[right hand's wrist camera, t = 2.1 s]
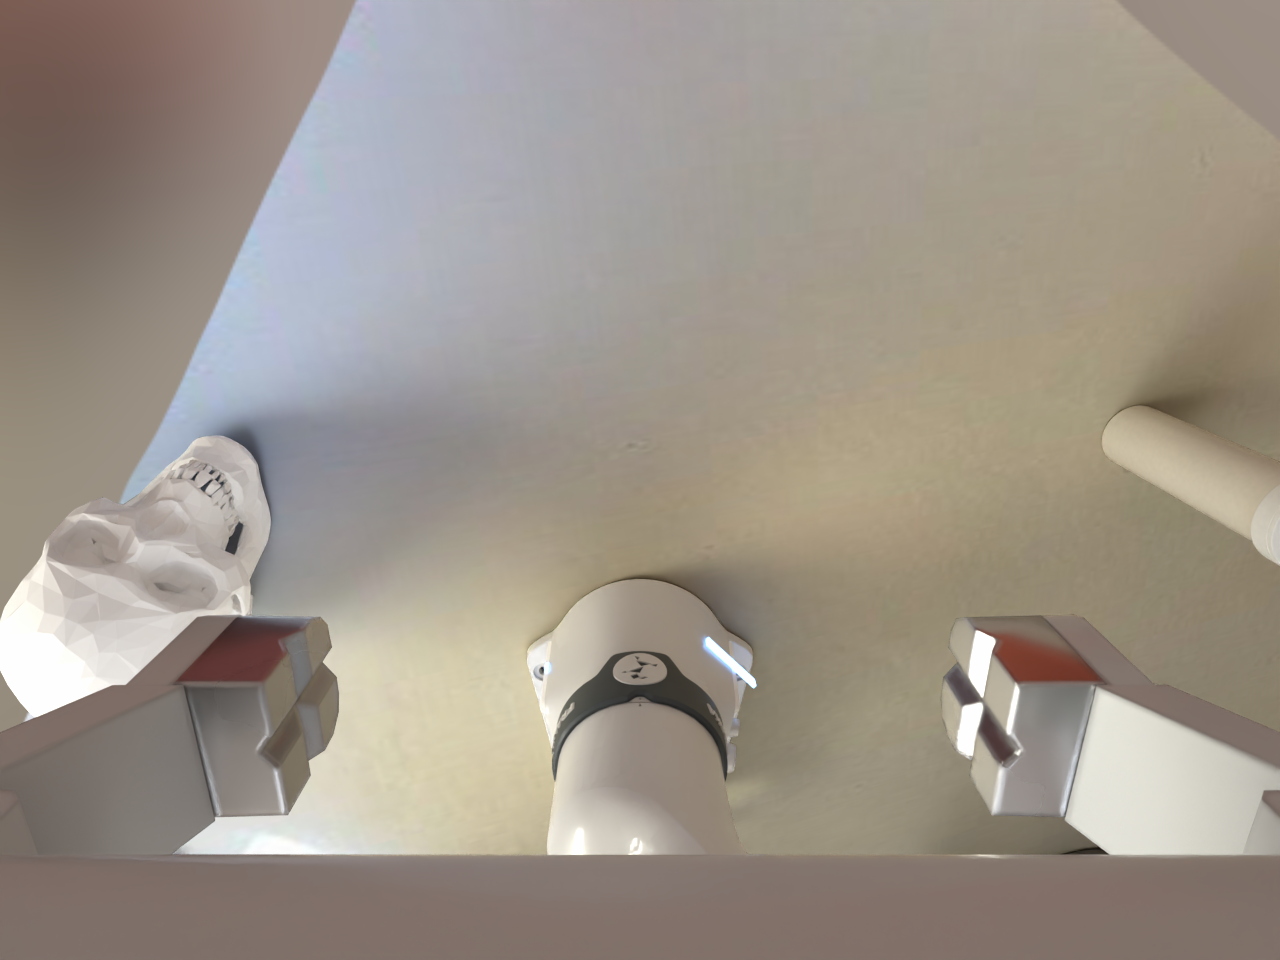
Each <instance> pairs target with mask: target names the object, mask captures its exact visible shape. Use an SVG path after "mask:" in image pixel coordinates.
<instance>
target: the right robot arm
mask: <svg viewBox="0 0 1280 960" xmlns="http://www.w3.org/2000/svg"><path fill="white" fill-rule="evenodd" d="M331 648H332V645H331V640H330V635H329V630H328V625H327V624H326V622H325V621H324V620H323V619H322V618H321V617H304V616H251V615H246V616H242V615H207V616H200V617H197V618H196V619H195V620H193V621H192V622H191V623H190V624H189V625H188V626H187V627H186V628H185V629H184V630H183V631H182V632H181V633H180V634H179V635H178V636H177V637H176V638H174V639H173V640H172V641H171V642H170V643H169V644H168V645H167V646H166V647H165V648H164V649H163V650H162V651H161V652H160V653H159V654H158V655H157V656H155V657H154V658H153V659H152V660H151V661H150V662H149V663H148V664H147V665H146V666H145V667H144V668H143V669H142V670H141V671H140V672H139V673H138V674H136V675H135V676H134V677H133V678H132V679H131V680H130V681H129V682H128V683H127V684H126V685H111V686H109V687H107V688H104V689H102V690H99V691H97V692H95V693H92V694H90V695H88V696H85V697H83V698H80V699H78V700H76V701H73V702H71V703H69V704H66V705H64V706H61V707H59V708H57V709H54V710H52V711H50V712H47V713H45V714H43V715H40V716H38V717H35V718H33V719H31V720H28V721H26V722H24V723H21V724H19V725H16V726H14V727H12V728H9V729H7V730H5V731H2V732H0V960H1280V732H1278V731H1275V730H1273V729H1270V728H1268V727H1266V726H1263V725H1261V724H1259V723H1256V722H1254V721H1251V720H1249V719H1247V718H1244V717H1242V716H1240V715H1237V714H1235V713H1233V712H1230V711H1228V710H1225V709H1223V708H1221V707H1218V706H1216V705H1214V704H1211V703H1209V702H1207V701H1204V700H1202V699H1199V698H1197V697H1195V696H1192V695H1190V694H1188V693H1185V692H1183V691H1181V690H1178V689H1176V688H1173V687H1171V686H1169V685H1154V684H1153V683H1152V682H1151V681H1150V680H1149V679H1148V678H1147V677H1146V676H1145V675H1144V674H1143V673H1141V672H1140V671H1139V670H1138V669H1137V668H1136V667H1135V666H1134V665H1133V664H1132V663H1131V662H1130V661H1129V660H1128V659H1127V658H1126V657H1125V656H1124V655H1123V654H1121V653H1120V652H1119V651H1118V650H1117V649H1116V648H1115V647H1114V646H1113V645H1112V644H1111V643H1110V642H1109V641H1108V640H1107V639H1106V638H1105V637H1104V636H1103V635H1102V634H1100V633H1099V632H1098V631H1097V630H1096V629H1095V628H1094V627H1093V626H1092V625H1091V624H1090V623H1089V622H1088V621H1087V620H1086V619H1085V618H1083V617H1080V616H1077V615H1074V614H1072V615H1048V616H1000V617H964V618H957V619H956V620H955V622H954V625H953V627H952V629H951V633H950V639H949V645H948V648H949V649H950V651H951V652H952V654H953V655H954V657H955V658H956V660H957V661H958V662H957V663H956V664H955V665H954V666H953V667H952V669H951V670H950V671H949V672H948V673H947V674H946V675H945V676H944V677H943V685H942V693H941V707H942V718H943V723H944V726H945V729H946V733H947V736H948V738H949V740H950V742H951V743H952V745H953V747H954V749H955V750H956V751H957V752H959V753H960V754H962V755H963V756H965V757H967V758H968V759H970V760H971V761H972V762H971V768H970V774H969V776H970V777H971V779H972V781H973V783H974V784H975V786H976V788H977V790H978V791H979V793H980V795H981V797H982V798H983V800H984V802H985V804H986V805H987V807H988V809H989V810H990V812H991V814H992V815H1005V816H1042V817H1065V821H1066V822H1068V823H1069V824H1070V825H1071V826H1073V827H1074V828H1075V829H1077V830H1078V831H1079V832H1081V833H1082V834H1083V835H1085V836H1086V837H1087V838H1088V839H1090V840H1091V841H1092V842H1094V843H1095V844H1096V845H1098V846H1099V847H1100V848H1102V849H1103V850H1104V851H1106V852H1107V853H1108V854H1109V855H748V854H747V852H746V851H745V849H744V847H743V845H742V844H741V842H740V840H739V837H738V835H737V832H736V828H735V825H734V821H733V817H732V814H731V810H730V806H729V801H728V796H727V791H726V786H725V780H726V776H727V773H731V772H733V771H734V768H735V763H736V746H735V744H733V743H730V740H731V737H737V736H738V734H739V728H740V722H739V719H737V716H738V713H739V709H740V706H741V702H742V699H743V695H744V692H745V688H746V685H747V683H748V684H749V685H750V686H752V687H753V688H754V687H756V682H755V679H754V678H753V677H752V676H751V675H750V671H751V668H752V664H753V651H752V648H751V647H750V646H749V645H748V644H747V643H746V642H745V641H743V640H742V639H740V638H739V637H737V636H735V635H734V634H732V633H730V632H728V631H727V630H726V629H725V628H724V627H723V626H722V625H721V624H720V623H719V621H718V620H717V618H716V617H715V615H714V614H713V613H712V611H711V610H710V609H709V608H708V607H707V606H706V605H705V604H704V603H703V602H702V601H701V600H700V599H698V598H697V597H696V596H694V595H693V594H691V593H690V592H688V591H686V590H684V589H682V588H680V587H678V586H675V585H673V584H670V583H666V582H662V581H657V580H650V579H630V580H623V581H618V582H614V583H610V584H607V585H605V586H602V587H600V588H598V589H596V590H594V591H592V592H590V593H589V594H587V595H586V596H584V597H583V598H582V599H580V600H579V601H578V602H577V603H576V604H575V605H574V606H573V607H572V608H571V609H570V610H569V612H568V613H567V614H566V616H565V617H564V618H563V620H562V621H561V623H560V624H559V625H558V626H557V627H556V628H555V629H554V630H553V631H552V632H550V633H548V634H547V635H545V636H543V637H541V638H540V639H538V640H537V641H535V642H534V643H533V644H532V645H531V646H530V647H529V649H528V651H527V664H528V667H529V671H530V674H531V678H532V681H533V685H534V688H535V692H536V695H537V699H538V702H539V706H540V709H541V712H542V716H543V719H544V723H545V726H546V730H547V733H548V737H549V740H550V744H551V747H552V754H553V759H552V769H553V776H554V780H555V788H554V795H553V802H552V810H551V817H550V824H549V831H548V838H547V852H548V855H171V854H172V853H173V852H175V851H176V850H177V849H179V848H180V847H181V846H183V845H184V844H185V843H187V842H188V841H189V840H190V839H192V838H193V837H194V836H196V835H197V834H198V833H200V832H201V831H202V830H204V829H205V828H206V827H208V826H209V825H210V824H211V823H213V822H214V821H215V817H237V816H273V815H288V814H289V812H290V811H291V809H292V807H293V805H294V804H295V802H296V800H297V798H298V797H299V795H300V793H301V791H302V790H303V788H304V786H305V784H306V783H307V781H308V779H309V777H310V776H311V774H310V768H309V762H308V761H309V760H310V759H312V758H313V757H315V756H317V755H318V754H320V753H321V752H323V751H324V750H325V749H326V747H327V745H328V743H329V741H330V740H331V738H332V736H333V734H334V729H335V725H336V721H337V717H338V713H339V691H338V684H337V677H336V676H335V675H334V674H333V673H332V672H331V671H330V670H329V669H328V668H327V666H326V665H325V664H324V663H323V660H324V658H325V657H326V655H327V654H328V652H329V651H330V649H331ZM541 667H544V670H542V669H541Z"/></svg>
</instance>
